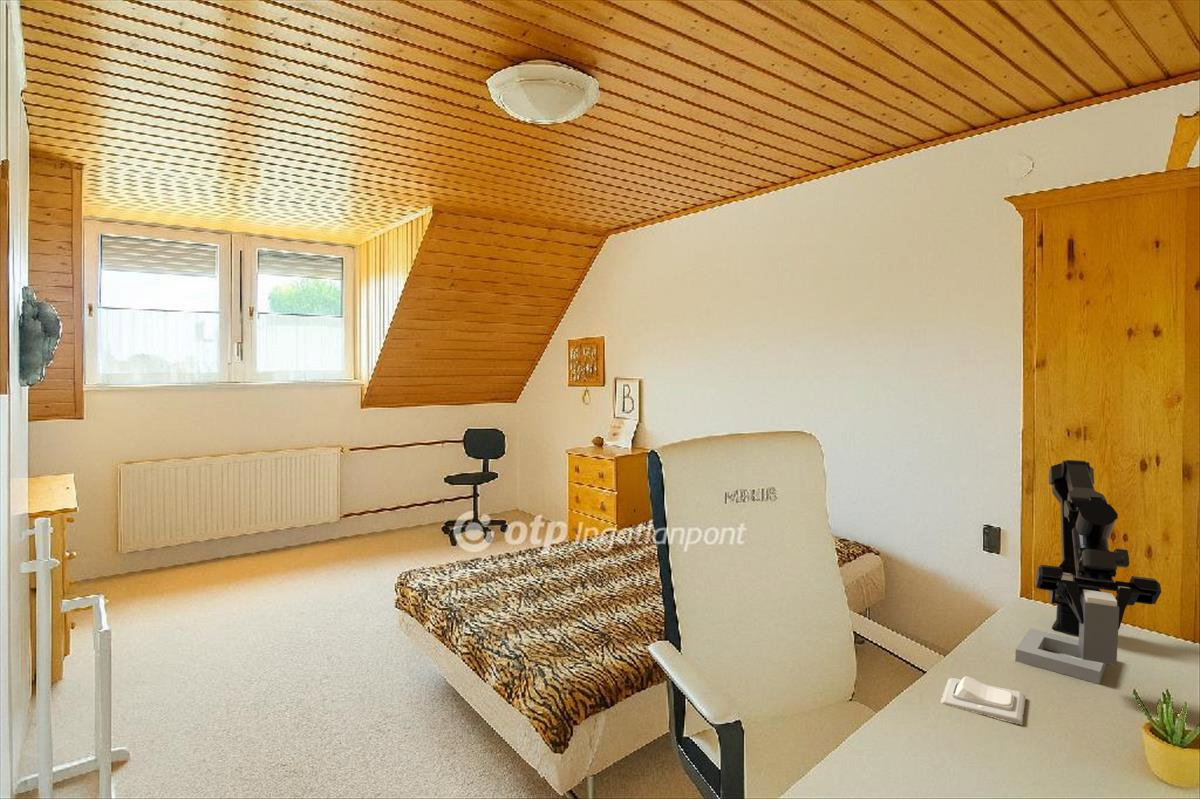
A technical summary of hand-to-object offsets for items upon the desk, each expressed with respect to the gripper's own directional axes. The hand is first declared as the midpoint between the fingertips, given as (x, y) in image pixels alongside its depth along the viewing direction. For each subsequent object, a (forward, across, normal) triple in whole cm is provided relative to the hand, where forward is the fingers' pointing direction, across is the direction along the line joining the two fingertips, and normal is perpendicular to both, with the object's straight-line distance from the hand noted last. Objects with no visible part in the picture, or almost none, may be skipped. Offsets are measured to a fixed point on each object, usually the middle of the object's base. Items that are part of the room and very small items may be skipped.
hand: (1099, 625), depth 119 cm
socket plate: (0, -4, +19) cm, 19 cm away
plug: (+4, 0, +6) cm, 7 cm away
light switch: (+19, -19, +1) cm, 27 cm away
